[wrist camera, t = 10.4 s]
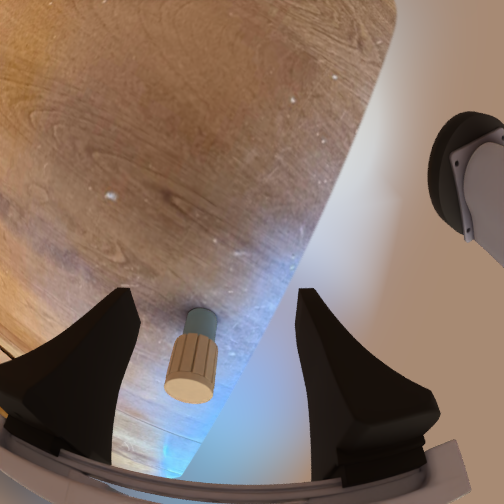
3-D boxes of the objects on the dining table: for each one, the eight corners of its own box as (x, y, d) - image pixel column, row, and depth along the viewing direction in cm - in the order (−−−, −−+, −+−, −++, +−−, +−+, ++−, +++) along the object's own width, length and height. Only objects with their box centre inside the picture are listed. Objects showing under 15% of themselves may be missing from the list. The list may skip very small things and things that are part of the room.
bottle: (223, 323, 26) (218, 371, 21) (199, 333, 26) (191, 379, 22) (205, 303, 24) (196, 351, 20) (181, 314, 25) (168, 361, 20)
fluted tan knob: (226, 353, 23) (222, 398, 19) (193, 364, 24) (185, 407, 20) (199, 327, 21) (191, 374, 17) (166, 340, 22) (154, 384, 18)
